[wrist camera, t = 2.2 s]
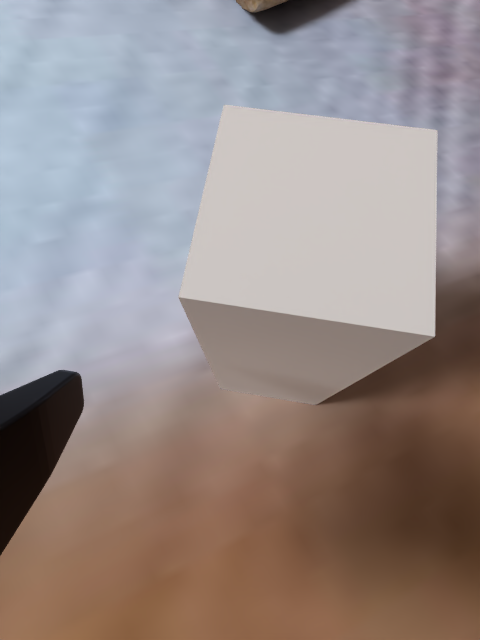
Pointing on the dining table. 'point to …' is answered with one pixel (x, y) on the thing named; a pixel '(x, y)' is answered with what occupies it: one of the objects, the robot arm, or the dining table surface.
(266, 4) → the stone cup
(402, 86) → the dining table surface
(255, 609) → the dining table surface
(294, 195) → the pillar
